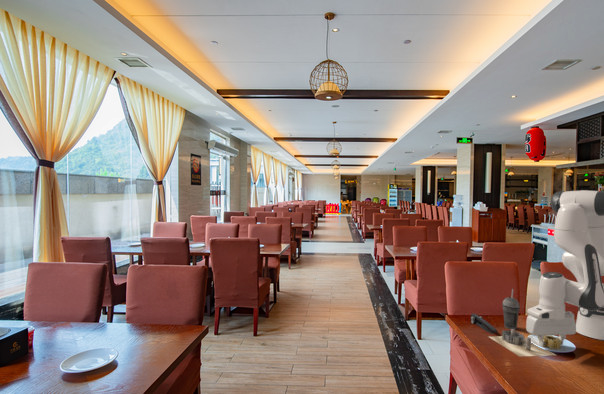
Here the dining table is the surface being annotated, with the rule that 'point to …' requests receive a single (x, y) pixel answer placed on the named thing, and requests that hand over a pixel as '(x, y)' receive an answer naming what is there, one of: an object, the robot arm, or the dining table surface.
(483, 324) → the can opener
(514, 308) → the beverage cup
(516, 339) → the gear
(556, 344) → the gear
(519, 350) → the gear board
